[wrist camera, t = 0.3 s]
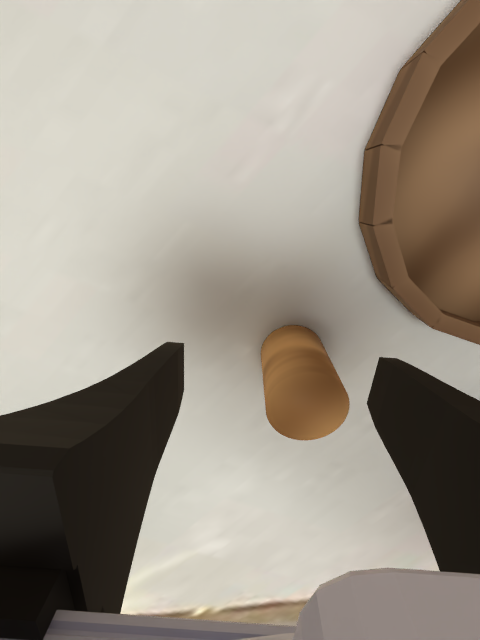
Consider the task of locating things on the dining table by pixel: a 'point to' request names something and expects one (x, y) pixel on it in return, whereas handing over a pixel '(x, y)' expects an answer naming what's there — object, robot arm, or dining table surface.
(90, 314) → the dining table surface
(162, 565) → the dining table surface
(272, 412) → the brown wooden cylinder
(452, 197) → the ring tray
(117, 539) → the robot arm
